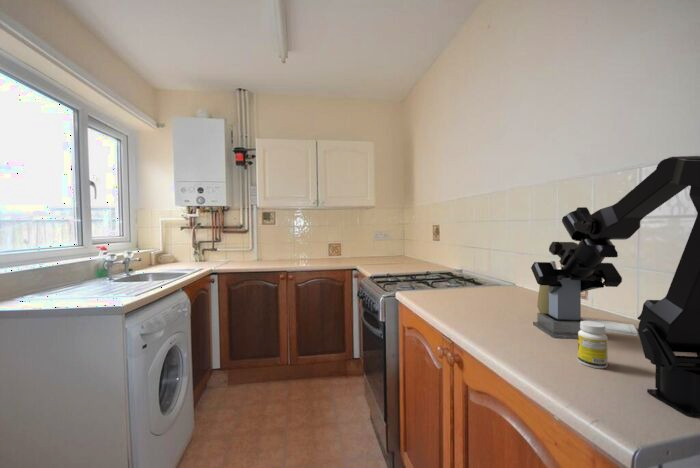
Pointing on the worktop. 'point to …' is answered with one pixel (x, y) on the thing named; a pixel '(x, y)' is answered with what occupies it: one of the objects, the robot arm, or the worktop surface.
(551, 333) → the pocket plate
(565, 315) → the grey tall block
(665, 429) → the worktop surface
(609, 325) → the hard drive
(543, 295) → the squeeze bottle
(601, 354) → the supplement bottle
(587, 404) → the worktop surface
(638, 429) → the worktop surface
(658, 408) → the worktop surface
